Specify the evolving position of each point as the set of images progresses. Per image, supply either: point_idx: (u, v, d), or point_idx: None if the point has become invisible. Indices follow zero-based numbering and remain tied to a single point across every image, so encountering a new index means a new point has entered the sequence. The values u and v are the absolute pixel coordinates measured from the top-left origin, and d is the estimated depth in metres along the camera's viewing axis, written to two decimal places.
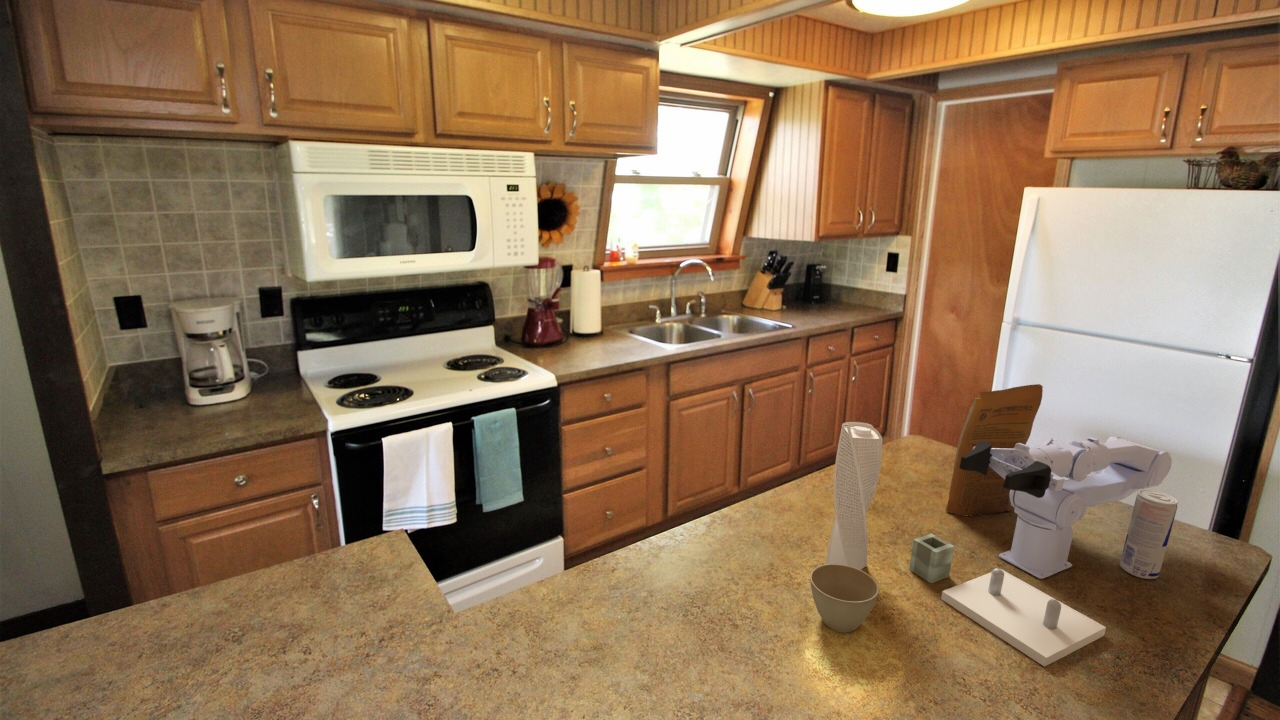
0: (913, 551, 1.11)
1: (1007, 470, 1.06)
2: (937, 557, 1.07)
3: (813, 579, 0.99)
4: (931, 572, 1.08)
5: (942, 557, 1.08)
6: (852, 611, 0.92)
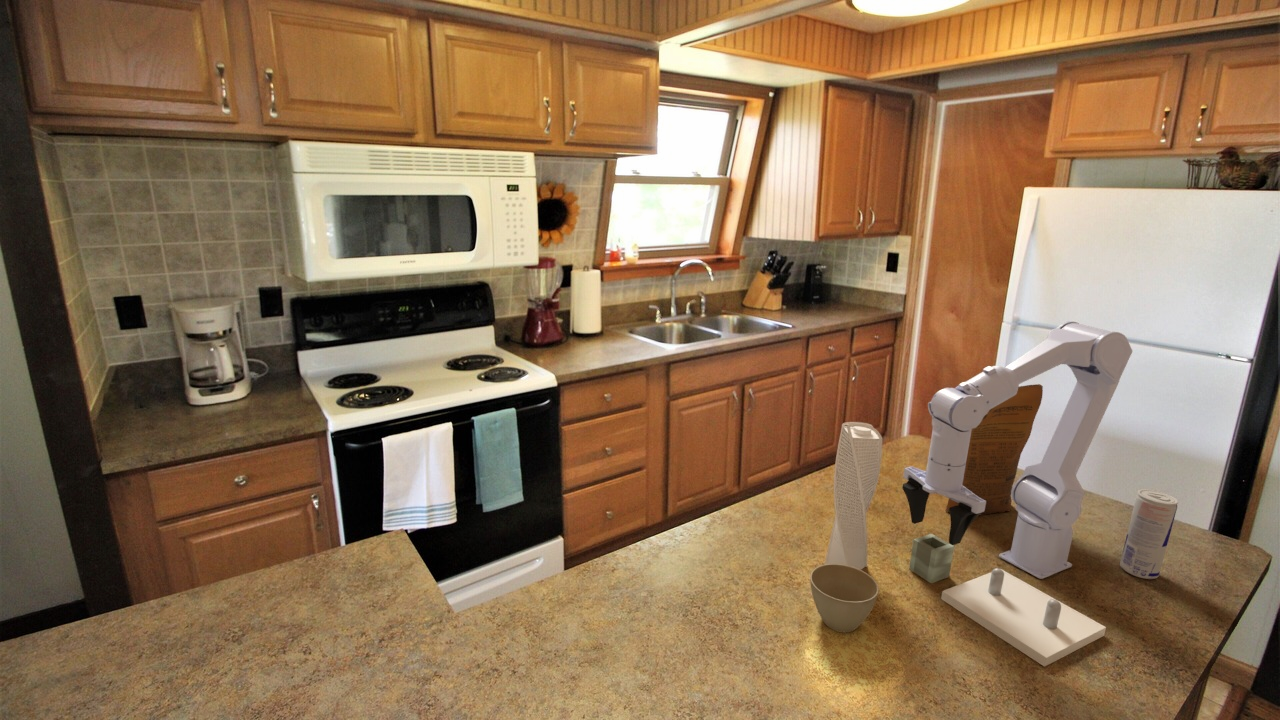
0: (913, 551, 1.11)
1: None
2: (937, 557, 1.07)
3: (813, 579, 0.99)
4: (931, 572, 1.08)
5: (942, 557, 1.08)
6: (852, 611, 0.92)
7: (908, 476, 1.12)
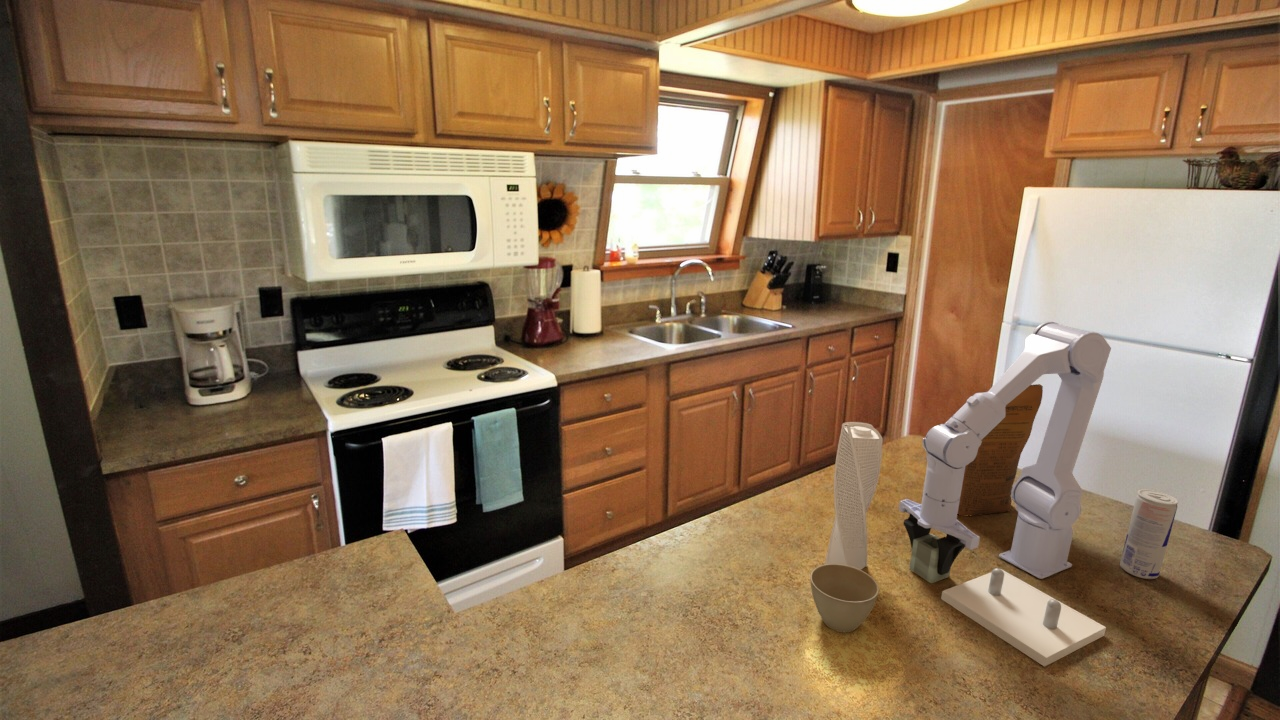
0: (913, 551, 1.11)
1: None
2: (937, 557, 1.07)
3: (813, 579, 0.99)
4: (931, 572, 1.08)
5: None
6: (852, 611, 0.92)
7: (903, 509, 1.14)
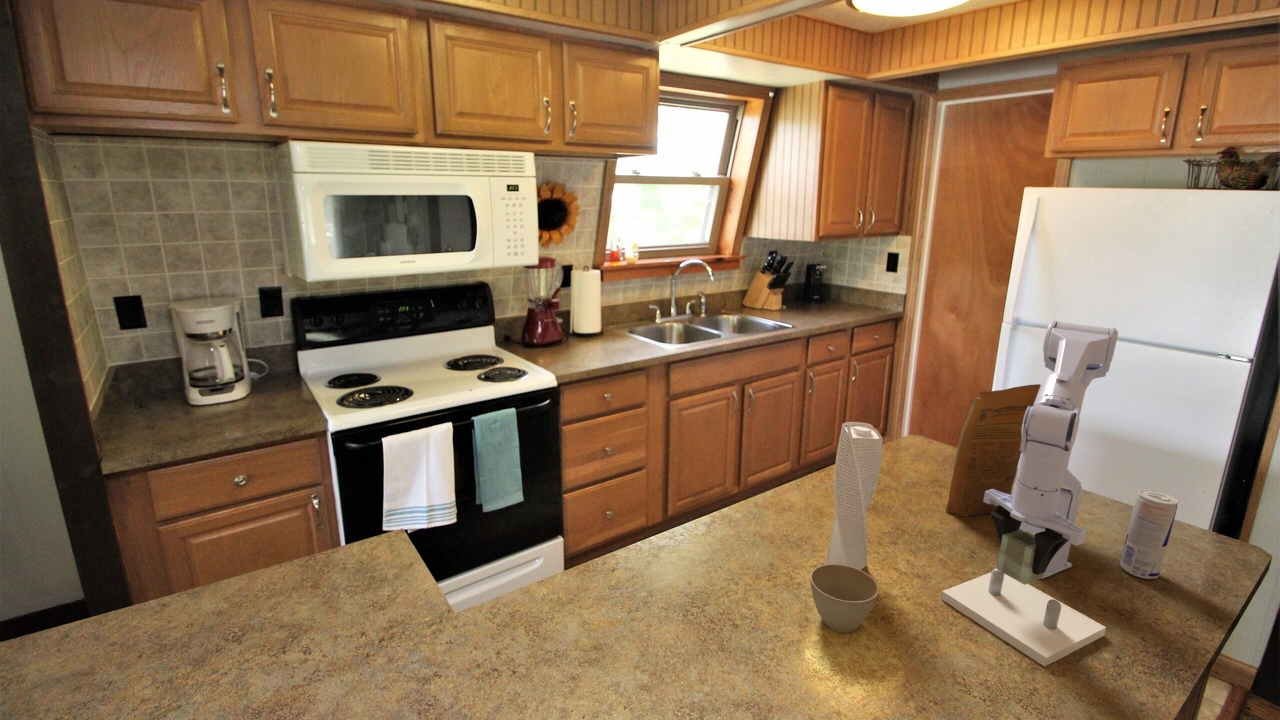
0: (1002, 548, 0.98)
1: None
2: (1032, 555, 0.94)
3: (813, 579, 0.99)
4: (1025, 572, 0.95)
5: None
6: (852, 611, 0.92)
7: (990, 500, 1.01)
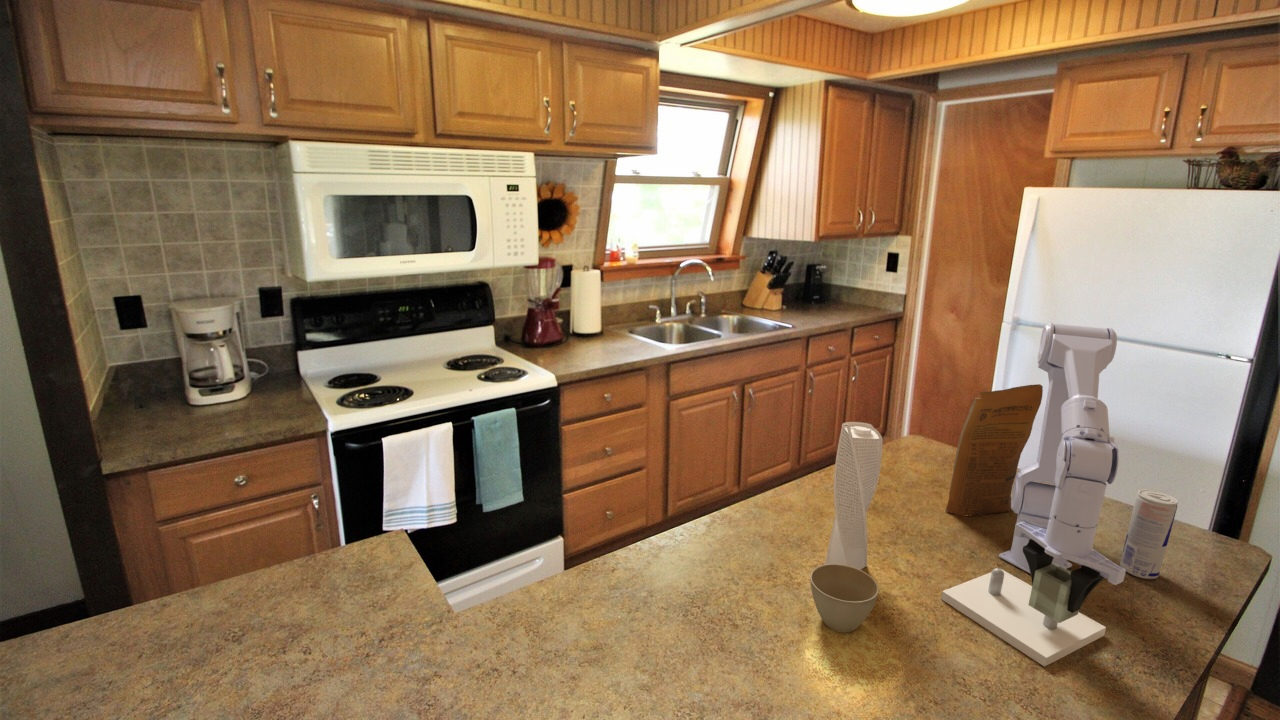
0: (1035, 584, 0.95)
1: None
2: (1068, 593, 0.91)
3: (813, 579, 0.99)
4: (1060, 610, 0.92)
5: None
6: (852, 611, 0.92)
7: (1021, 533, 0.98)
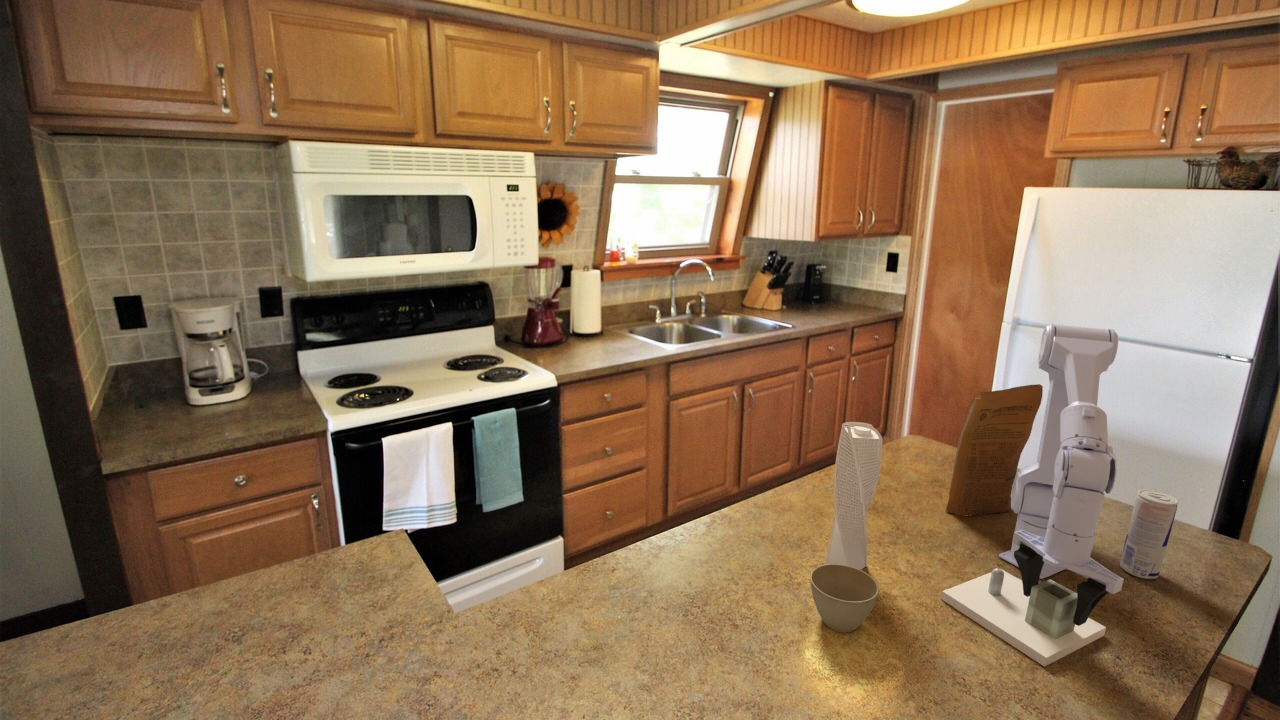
0: (1031, 600, 0.96)
1: None
2: (1063, 609, 0.92)
3: (813, 579, 0.99)
4: (1055, 627, 0.93)
5: (1068, 609, 0.92)
6: (852, 611, 0.92)
7: (1019, 542, 0.98)
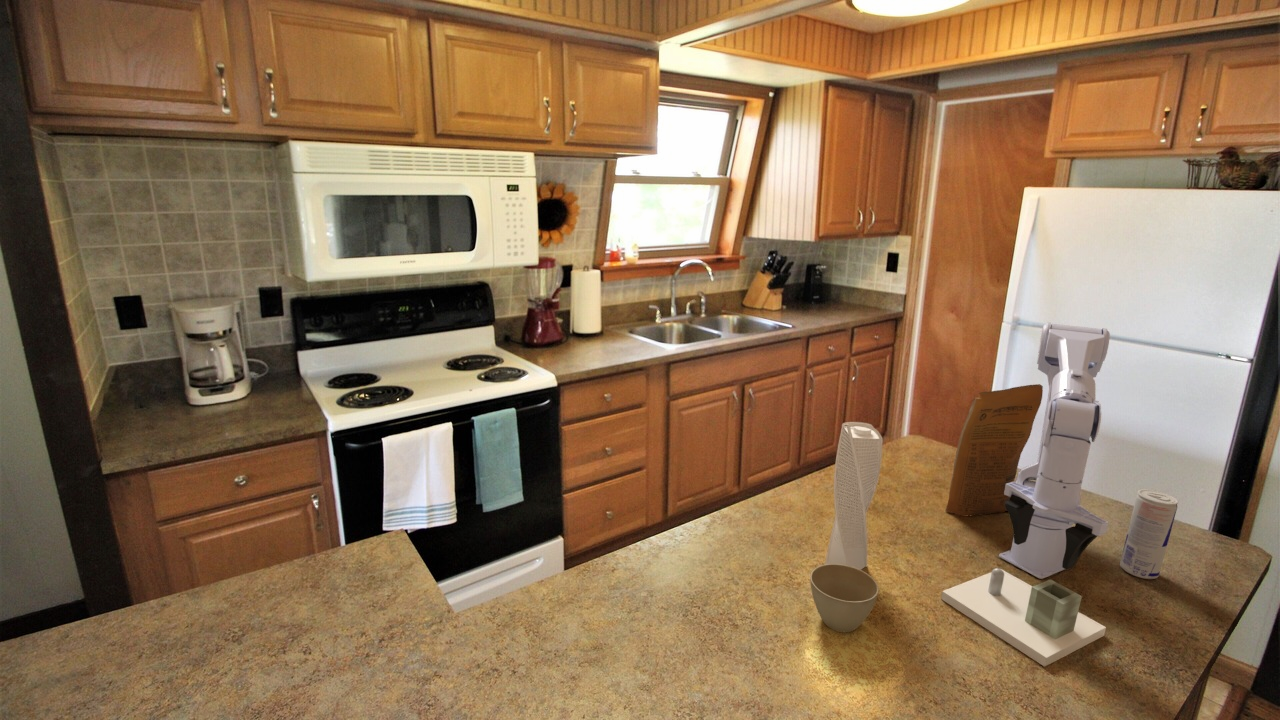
0: (1031, 600, 0.96)
1: None
2: (1063, 609, 0.92)
3: (813, 579, 0.99)
4: (1055, 627, 0.93)
5: (1068, 609, 0.92)
6: (852, 611, 0.92)
7: (1010, 493, 1.03)
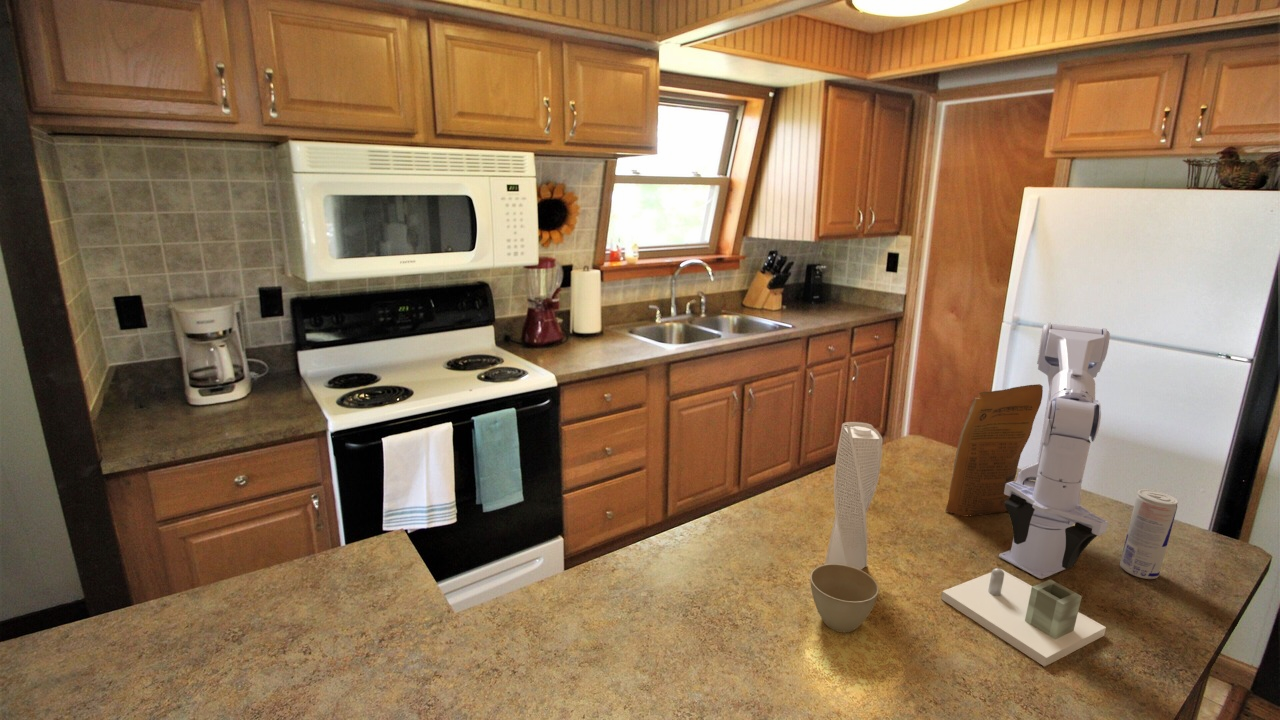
0: (1031, 600, 0.96)
1: None
2: (1063, 609, 0.92)
3: (813, 579, 0.99)
4: (1055, 627, 0.93)
5: (1068, 609, 0.92)
6: (852, 611, 0.92)
7: (1010, 492, 1.03)
